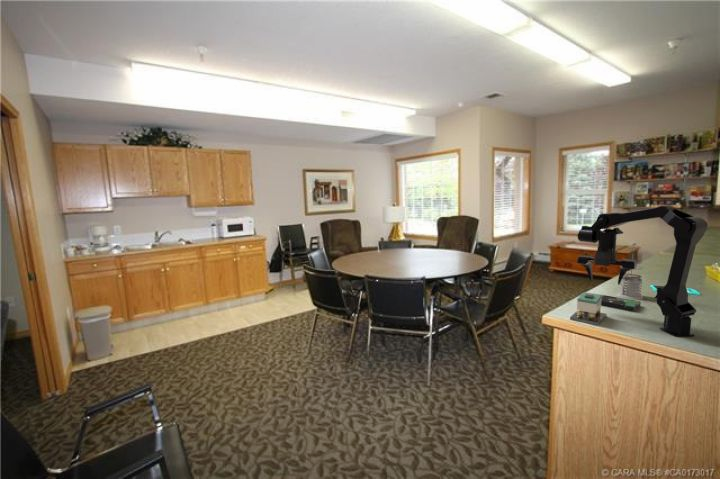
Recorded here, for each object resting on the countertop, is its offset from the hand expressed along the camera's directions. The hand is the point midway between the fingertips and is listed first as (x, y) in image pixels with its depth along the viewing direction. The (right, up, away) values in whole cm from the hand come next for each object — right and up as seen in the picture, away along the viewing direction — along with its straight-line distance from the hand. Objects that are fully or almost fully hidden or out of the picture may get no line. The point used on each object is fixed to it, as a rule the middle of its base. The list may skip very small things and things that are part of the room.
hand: (604, 282), depth 135 cm
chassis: (-10, -13, -5) cm, 17 cm away
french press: (+25, -9, +19) cm, 33 cm away
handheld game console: (+52, -8, +25) cm, 58 cm away
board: (-10, -9, -5) cm, 15 cm away
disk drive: (+11, -11, +8) cm, 18 cm away
